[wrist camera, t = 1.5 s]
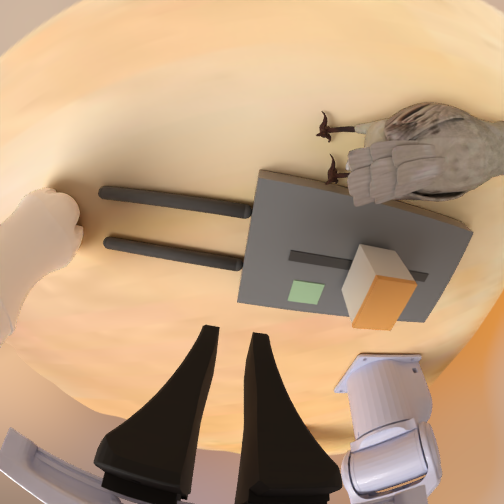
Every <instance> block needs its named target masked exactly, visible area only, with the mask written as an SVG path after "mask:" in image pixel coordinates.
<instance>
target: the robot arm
mask: <svg viewBox="0 0 504 504" xmlns="http://www.w3.org/2000/svg"><path fill="white" fill-rule="evenodd" d="M219 328H220V327H215V326H210V325H204V326H203V327H202V330H201V332H200V334H199V336H198V338H197V340H196V342H195V343H194V345H193V347H192V349H191V350H190V352H189V353H188V355H187V356H186V358H185V359H184V361H183V362H182V364H181V365H180V366H179V368H178V369H177V370H176V371H175V373H174V374H173V375H172V377H171V378H170V379H169V380H168V381H167V383H166V384H165V385H164V386H163V387H162V388H161V389H160V390H159V391H158V393H157V394H156V395H155V396H154V397H153V398H152V399H151V400H150V401H149V402H148V403H146V404H145V405H144V406H143V407H142V408H141V409H140V410H139V411H137V412H136V413H135V414H134V415H132V416H131V417H130V418H129V419H128V420H126V421H125V422H124V423H122V424H121V425H119V426H118V427H116V428H115V429H114V430H112V431H111V432H109V433H108V434H106V435H105V437H104V438H103V440H102V441H101V443H100V445H99V447H98V449H97V452H96V456H95V459H94V464H95V465H96V466H97V467H99V468H100V469H102V470H103V471H104V472H105V474H104V478H101V477H99V476H96V475H94V474H91V473H89V472H87V471H84V470H82V469H80V468H78V467H76V466H74V465H71V464H69V463H68V462H65V461H64V460H62V459H59V458H58V457H56V456H54V455H52V454H50V453H49V452H47V451H45V450H43V449H41V448H40V447H38V446H37V445H36V444H35V443H34V442H32V441H31V440H29V439H28V438H26V437H25V436H23V435H22V434H20V433H19V432H17V431H16V430H14V429H13V428H11V427H10V428H9V430H8V433H7V435H6V438H5V441H4V443H3V445H2V448H1V450H0V471H2V472H3V473H4V474H5V475H7V476H8V477H9V478H11V479H12V480H13V481H15V482H16V483H17V484H19V485H20V486H21V487H23V488H24V489H25V490H27V491H28V492H30V493H31V494H32V495H34V496H35V497H36V498H38V499H39V500H41V501H42V502H44V503H45V504H123V503H121V501H120V499H119V498H118V497H120V498H122V499H125V500H128V501H131V502H134V503H138V504H192V503H187V502H182V501H181V499H185V500H187V497H188V494H190V492H191V485H192V477H193V470H194V463H195V456H196V449H197V442H198V436H199V429H200V423H201V419H202V415H203V411H204V407H205V403H206V400H207V396H208V392H209V389H210V385H211V381H212V378H213V373H214V367H215V361H216V354H217V345H218V337H219ZM421 358H422V357H421V355H373V354H360V355H358V356H357V357H356V359H355V360H354V362H353V363H352V365H351V366H350V368H349V369H348V371H347V372H346V373H345V375H344V376H343V378H342V379H341V380H340V382H339V383H338V385H337V386H336V387H335V389H334V392H335V393H348V398H349V404H350V410H351V416H352V422H353V429H354V435H355V441H354V442H351V443H350V446H351V450H349V451H347V453H346V454H345V456H344V458H343V461H342V465H341V474H340V470H339V467H338V465H336V463H335V462H334V461H333V460H332V459H331V458H330V457H329V456H328V455H327V453H326V452H325V451H324V450H323V449H322V448H321V446H320V445H319V444H318V443H317V441H316V440H315V439H314V437H313V436H312V434H311V433H310V431H309V430H308V429H307V427H306V426H305V424H304V423H303V421H302V419H301V418H300V416H299V414H298V413H297V411H296V409H295V407H294V405H293V403H292V402H291V400H290V397H289V395H288V393H287V391H286V389H285V387H284V384H283V382H282V379H281V377H280V374H279V371H278V369H277V366H276V363H275V360H274V356H273V353H272V349H271V345H270V340H269V336H268V335H267V334H262V333H254V332H253V334H252V338H251V342H250V346H249V351H248V355H247V359H246V366H245V375H244V431H243V441H242V450H241V459H240V467H239V475H238V483H237V491H236V497H235V504H327V501H329V494H330V493H332V492H335V491H338V490H340V489H341V488H342V480H343V484H344V486H345V488H346V490H347V492H348V494H349V498H350V502H351V504H428V501H427V497H428V496H429V495H430V494H431V493H432V492H433V491H434V489H435V488H436V487H437V486H438V484H439V483H440V480H441V477H442V469H441V465H440V463H441V462H440V455H439V450H438V446H437V443H436V439H435V436H434V433H433V430H432V427H431V425H430V424H429V423H427V421H428V419H429V418H430V416H431V412H432V398H431V394H430V392H429V389H428V386H427V383H426V380H425V378H424V375H423V372H422V370H421V367H420V364H419V361H420V360H421ZM426 474H427V475H426ZM341 475H342V478H341ZM423 475H426V476H425V477H424V478H422V479H420V480H417V481H415V482H412V483H410V484H407V485H404V486H401V487H398V488H395V489H392V490H389V491H385V492H380V493H376V492H377V491H380V490H383V489H387V488H390V487H393V486H396V485H399V484H401V483H405V482H408V481H410V480H413V479H416V478H418V477H420V476H423Z"/></svg>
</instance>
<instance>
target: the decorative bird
mask: <svg viewBox="0 0 504 504" xmlns="http://www.w3.org/2000/svg"><path fill="white" fill-rule="evenodd" d="M322 113H323V114H324V119H323V122H322V124H321V125H320V127H319V128H320V133H318V134H317V135H316V136H321V137H323V138H325V137H326V138H327V139H329V141H328V142H330V141H331V136H330V134H329V133H333V132H357V133H361V134H366V136H365V144H364V148H359V149H354V150H352V151H349V154H348V161H347V163H346V170H351V173H339V174H337V170H336V168H335V161H334V158H333V156H332V155H331V154H330V156H331V157H332V164H331V167H330V169H329V170H328V180H329V181H328V182H326V183H325V185H328V184H331V183H332V182H335V184H337V183H338V179H337V178H346V177H348V179H347V183H348V190H349V194H350V195H351V196H353V202H354V206H356V207H357V206H363V205H365V204H368V203H371V202H374V201H375V204H380V203H384V202H386V201H389V200H392V199H393V200H425V201H448V200H452V199H456V198H459V197H461V196H463V195H464V194H465V193H467V192H468V191H470V190H473V189H475V188H477V187H478V186H480V185H482V184H483V183H485V182H486V181H488V180H489V179H491V178H492V177H495V176H499V175H504V121H498V122H489V121H484V120H480V119H478V118H476V117H473V116H471V115H470V114H469V113H467V112H465V111H463V110H461V109H458V108H455V107H452V106H449V105H445V104H439V103H420V104H415V105H412V106H410V107H407V108H405V109H402V110H401V111H399V112H398V113H396V114H395V115H393V116H392V117H390V118H389V119H383V120H379V121H374V122H370V123H364V124H358V125H356V126H355V127H351V126H347V127H336V128H330V127H329V126H327V117H326V115H325V113H324V112H323V111H322Z"/></svg>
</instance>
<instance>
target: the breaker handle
mask: <svg viewBox="0 0 504 504" xmlns="http://www.w3.org/2000/svg"><path fill="white" fill-rule="evenodd" d="M416 286H417V283H416V282H415V280H414V278H413V277H412V275H411V274H410V272H409V271H408V269H407V268H406V266H405V265H404V263H403V262H402V260H401V259H400V257H399V256H398V254H397V253H396V251H393V250H388V249H383V248H378V247H373V246H368V245H363V244H359V247H358V250H357V252H356V255H355V257H354V260H353V262H352V265H351V267H350V270H349V272H348V275H347V277H346V280H345V282H344V284H343V287H342V289H341V290H342V293H343V296H344V300H345V303H346V306H347V310H348V313H349V316H350V320H351V323H352V327H353V328H360V329H373V330H389V331H390V330H391V329H392V327H393V326H394V324H395V323H396V321H397V319H398V318H399V316H400V314H401V313H402V311H403V309H404V308H405V306H406V304H407V303H408V301H409V299H410V297H411V296H412V294H413V292H414V290H415V288H416Z"/></svg>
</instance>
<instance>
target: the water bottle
mask: <svg viewBox="0 0 504 504" xmlns="http://www.w3.org/2000/svg"><path fill="white" fill-rule="evenodd" d="M79 215H80V210H79V207H78V204H77V203H76V201H75V200H74V199H73V198H72V197H71V196H69V195H68V194H65V193H56V190H55V189H51V188H42V189H38V190H35V191H33V192H31V193H29V194H27V195H25V196H24V197H23V198H22V199H21V201H20V203H19V204H18V206H17V208H16V209H15V211H14V212H13V213H12V214H11V215H10V217H9V218H7V219H6V220H5V221H4V222H3V223H2V224H0V347H1V346H2V344H3V343H4V341H5V340H6V339H7V337H8V336H10V335H11V334H12V333H13V332H14V330H15V328H16V323H17V319H18V316H19V313H20V310H21V307H22V305H23V303H24V301H25V299H26V297H27V295H28V293H29V292H30V291H31V289H32V288H33V287H34V285H35V284H36V283H37V282H38V281H39V280H40V279H42V278H43V277H44V276H46V275H47V274H49V273H51V272H53V271H56V270H59V269H62V268H64V267H65V266H67V265H68V264H69V263H70V261H71V260H72V259H73V257H74V256H75V255H76V253H77V251H78V249H79V247H80V244H81V242H82V238H83V227H82V226H79V225H76V224H77V221H78V219H79Z"/></svg>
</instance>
